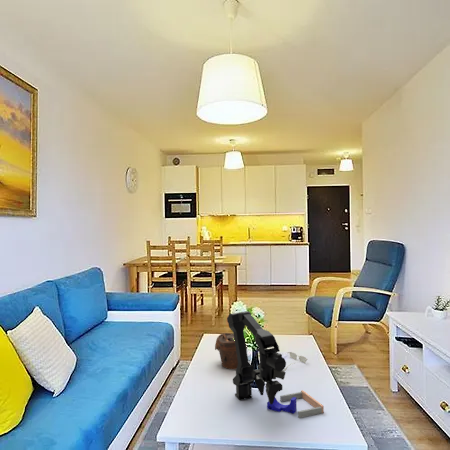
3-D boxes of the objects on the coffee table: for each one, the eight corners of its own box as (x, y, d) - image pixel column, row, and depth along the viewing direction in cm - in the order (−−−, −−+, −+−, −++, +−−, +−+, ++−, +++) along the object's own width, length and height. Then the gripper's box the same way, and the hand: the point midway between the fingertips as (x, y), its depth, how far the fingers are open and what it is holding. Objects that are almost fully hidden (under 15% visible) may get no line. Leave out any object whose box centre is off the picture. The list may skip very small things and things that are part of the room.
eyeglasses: (307, 364, 232) (307, 358, 232) (284, 372, 222) (284, 364, 222) (289, 357, 245) (289, 350, 245) (266, 364, 234) (266, 357, 234)
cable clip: (267, 409, 179) (267, 395, 179) (271, 405, 183) (271, 392, 183) (292, 415, 173) (292, 401, 173) (296, 411, 177) (296, 397, 177)
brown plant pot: (217, 358, 242) (216, 329, 242) (250, 359, 240) (250, 330, 240) (213, 370, 225) (212, 338, 224) (249, 371, 223) (248, 339, 222)
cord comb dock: (299, 417, 170) (299, 410, 170) (280, 400, 186) (280, 394, 186) (323, 412, 174) (323, 405, 174) (302, 396, 190) (302, 390, 190)
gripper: (293, 368, 168) (293, 405, 168) (273, 354, 186) (273, 387, 186) (269, 372, 164) (269, 410, 165) (250, 357, 182) (251, 391, 182)
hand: (266, 399), depth 174 cm, fingers open, 9 cm apart
